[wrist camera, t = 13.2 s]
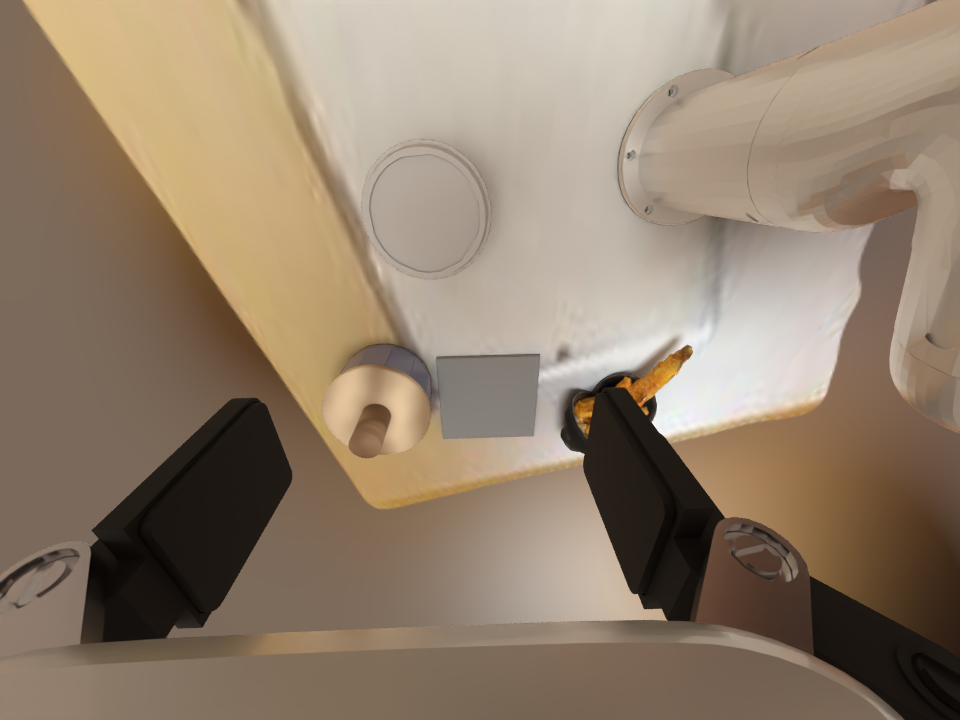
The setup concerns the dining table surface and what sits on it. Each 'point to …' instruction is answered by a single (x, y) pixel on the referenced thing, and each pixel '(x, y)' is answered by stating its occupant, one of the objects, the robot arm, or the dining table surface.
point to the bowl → (394, 362)
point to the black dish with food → (638, 388)
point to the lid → (376, 410)
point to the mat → (488, 395)
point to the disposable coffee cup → (426, 209)
